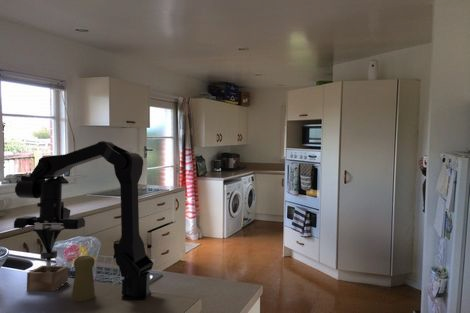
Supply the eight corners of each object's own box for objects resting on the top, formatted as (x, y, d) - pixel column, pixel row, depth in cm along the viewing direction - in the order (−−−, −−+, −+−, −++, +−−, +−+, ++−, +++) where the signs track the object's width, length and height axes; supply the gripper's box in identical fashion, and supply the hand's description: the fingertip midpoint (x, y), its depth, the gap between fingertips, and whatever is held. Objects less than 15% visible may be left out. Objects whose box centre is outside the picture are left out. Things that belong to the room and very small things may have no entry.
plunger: (62, 274, 112) (63, 250, 112) (52, 280, 106) (53, 254, 107) (43, 274, 112) (44, 249, 112) (33, 279, 106) (34, 253, 107)
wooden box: (67, 282, 113) (68, 266, 113) (54, 291, 105) (55, 273, 105) (41, 281, 113) (42, 265, 113) (26, 290, 105) (27, 272, 105)
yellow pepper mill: (86, 302, 97) (87, 259, 98) (66, 300, 98) (67, 258, 99) (99, 294, 103) (100, 254, 104) (80, 292, 104) (81, 253, 105)
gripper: (92, 197, 118) (91, 246, 117) (35, 196, 118) (33, 245, 118) (77, 200, 107) (75, 255, 106) (13, 199, 107) (11, 253, 107)
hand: (49, 251), depth 109 cm, fingers closed, pressing on plunger
